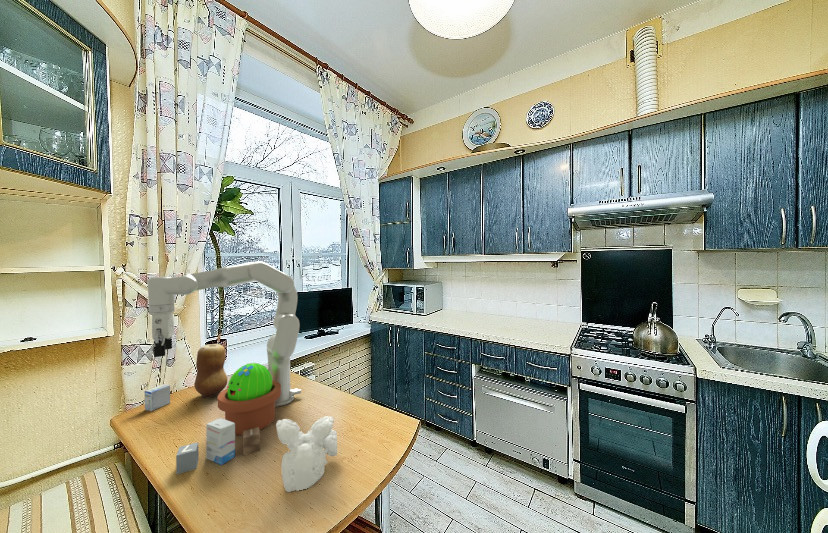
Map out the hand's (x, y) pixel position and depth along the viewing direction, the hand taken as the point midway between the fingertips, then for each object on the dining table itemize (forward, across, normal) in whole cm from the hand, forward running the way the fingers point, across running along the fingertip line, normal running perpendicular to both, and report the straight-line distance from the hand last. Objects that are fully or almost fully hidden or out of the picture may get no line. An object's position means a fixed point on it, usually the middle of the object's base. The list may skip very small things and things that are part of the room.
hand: (163, 352), depth 114 cm
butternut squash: (+31, +29, -11) cm, 44 cm away
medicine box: (+31, +27, +9) cm, 42 cm away
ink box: (+31, -28, -21) cm, 47 cm away
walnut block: (+31, -28, -30) cm, 51 cm away
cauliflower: (+32, -48, -46) cm, 73 cm away
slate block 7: (+31, -28, -12) cm, 44 cm away
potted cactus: (+32, -9, -29) cm, 44 cm away
